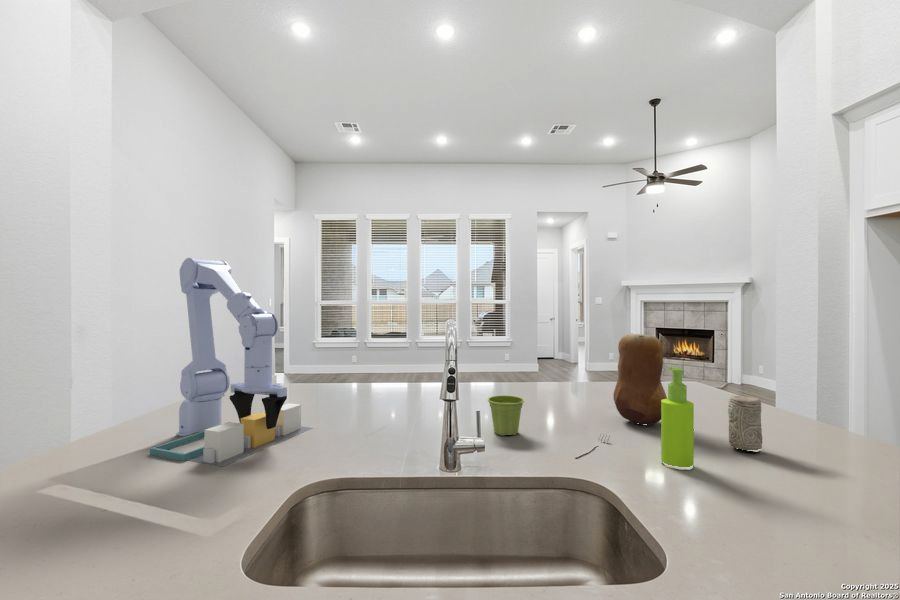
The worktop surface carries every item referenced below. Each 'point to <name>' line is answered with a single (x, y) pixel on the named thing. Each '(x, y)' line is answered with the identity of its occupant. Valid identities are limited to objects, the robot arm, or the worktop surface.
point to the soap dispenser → (677, 424)
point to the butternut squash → (639, 379)
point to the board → (245, 448)
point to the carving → (745, 423)
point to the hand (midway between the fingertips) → (258, 426)
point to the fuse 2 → (289, 418)
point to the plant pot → (506, 413)
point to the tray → (166, 453)
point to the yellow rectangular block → (257, 429)
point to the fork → (604, 439)
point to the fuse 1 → (225, 440)
